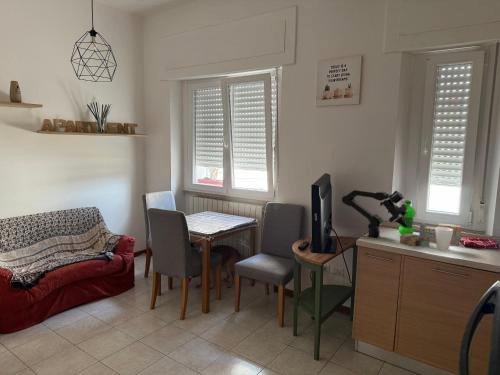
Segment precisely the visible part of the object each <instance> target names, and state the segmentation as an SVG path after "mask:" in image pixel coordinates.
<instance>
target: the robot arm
mask: <svg viewBox="0 0 500 375" xmlns="http://www.w3.org/2000/svg"><path fill="white" fill-rule="evenodd" d="M357 196H358V197H359V196H361V197H365V198H371V199H374V200H376V201H380V205H379V206H380V207H382V206H383V207H385V209H386V210H387V213H388V214H390V215H391V216H390V217H389V218H388V221H389V223H394V222H395V223H397V224H399V225H400V224H401V225H403V226H405V227H407V224H406V222H405V219H404V217H405V214H406V213H407V211H406V210H408V208H407V207H408V206H407V205H406V204H405V203H402V204H401V206H398V205H395V204H398V203H399V202H401V201H402V200H404V196H403V194H402V193H401V192H399V191H398V190H395V191H394V192H393V193H391V194H389V193H387V192H386V191H368V190H363V189H362V190H361V189H357V188H355V189H353V190H352V191H350V192H349V193H348V194H346V195H343V197H342V198H341V202H342V204H344V205H346V206H347V207H348V206H349V207H351V208H352V209H353V210H355V211H356V212H358V213H359V214H361V215H362V216H363V217H365V219H367V220H368V222H369V224H368V225H367V228H368V235H367V237H370V238H376V239H378V238H379V237H380V233H381V230H380V227H381V226H382V225H383V223H384V219H383V218H382V217H381V216H380V215H378V214H377V213H375V214H373V213H371V212H370V211H369V210H368V209H366V208H364V207H363V206H362V205H360V204H359V203H357V201H356V200H355V198H356V197H357ZM393 221H394V222H393Z"/></svg>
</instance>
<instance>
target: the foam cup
mask: <svg viewBox="0 0 500 375" xmlns="http://www.w3.org/2000/svg"><path fill="white" fill-rule="evenodd" d="M435 232H436V249H437V250H438V251H442V252H443V251H444V252H446V251H449V249H450V246H451V244H450V241H451V237H452V234H453V229H451V228H446V227H438V226H437V227H436V229H435Z"/></svg>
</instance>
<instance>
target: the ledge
mask: <svg viewBox="0 0 500 375" xmlns="http://www.w3.org/2000/svg"><path fill="white" fill-rule="evenodd" d="M424 238H425V237H424ZM424 238H423V239H424ZM423 239H422V238H419V234H418V235H417V234H414V233H413V234H407V233H404V234H402V235H401V234H400V236H399V244H401V245H408V246H413V247H416V246H417V245H419V241H422V240H423Z"/></svg>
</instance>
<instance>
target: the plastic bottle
mask: <svg viewBox="0 0 500 375" xmlns="http://www.w3.org/2000/svg"><path fill="white" fill-rule="evenodd" d="M404 204H405V205H407V206H408V207H407V208H408V210H406V211H407V213H406V214H405V217H404V219H405V222H406V224H407V227H405V226H403V225H401V224H399V228H398V233H399V234H400V236H401V235H402V234H404V233H407V234H413V235H414V227H413V222H414V218H415V217H416V211H415V209H414V208H413V207H412V206H411V205H412V200H408V199H407V200H404Z"/></svg>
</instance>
